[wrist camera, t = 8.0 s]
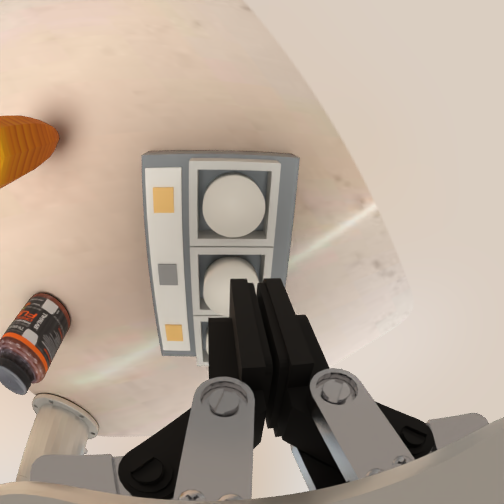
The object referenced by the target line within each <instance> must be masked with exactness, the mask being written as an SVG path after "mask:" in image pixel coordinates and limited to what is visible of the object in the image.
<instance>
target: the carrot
mask: <svg viewBox="0 0 504 504" xmlns="http://www.w3.org/2000/svg"><path fill="white" fill-rule="evenodd" d="M58 141H59V135H58V132H57V131H56V129H55V128H54V127H52V126H51V125H48V124H46V123H44V122H42V121H40V120H37V119H34V118H30V117H25V116H0V188H2V187H4V186H6V185H7V184H9V183H11V182H13V181H14V180H16V179H18V178H20V177H21V176H23V175H25V174H27V173H28V172H30V171H32V170H34V169H35V168H37V167H38V166H39V165H41V164H42V163H43V162H44V161H46V160H47V159H48V158H49V157H50V156H51V155H52V153H53V152H54V150H55V148H56V146H57V143H58Z"/></svg>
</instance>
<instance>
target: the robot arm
mask: <svg viewBox="0 0 504 504" xmlns="http://www.w3.org/2000/svg"><path fill="white" fill-rule="evenodd" d="M208 353H209V380H207V381H205V382H203V383H202V384H201V385H200V386H199V387H198V388H197V390H196V392H195V394H194V398H193V402H192V407H191V408H190V409H189V410H188V411H186V412H185V413H184V414H182V415H181V416H180V417H178V418H177V419H175V420H174V421H173V422H171V423H170V424H168V425H167V426H166V427H164V428H163V429H161V430H160V431H159V432H157V433H156V434H154V435H153V436H151V437H150V438H149V439H147V440H146V441H144V442H143V443H141V444H140V445H138V446H137V447H135V448H134V449H132V450H131V451H129V452H128V453H127V454H126V455H125V456H121V457H112V455H111V454H104V455H84V454H86V453H87V449H86V448H85V446H86V442H87V439H92V438H94V437H96V436H97V434H98V424H97V423H96V421H95V420H94V419H93V418H92V416H91V415H89V414H88V413H87V412H86V411H85V410H83V409H82V408H80V407H79V406H77V405H76V404H74V403H72V402H70V401H68V400H66V399H63V398H61V397H58V396H55V395H51V394H39V395H36V396H35V397H34V399H33V402H32V406H33V409H34V411H35V413H36V414H37V416H36V419H35V421H34V425H33V427H32V430H31V433H30V435H29V438H28V441H27V444H26V447H25V450H24V454H23V457H22V460H21V464H20V467H19V471H18V474H17V478H16V482H9V483H4V484H0V504H504V417H503V418H501V419H499V420H496V421H494V422H492V423H490V424H489V423H488V421H487V420H486V418H484V417H483V416H482V415H480V414H477V413H469V414H464V415H459V416H453V417H446V418H440V419H432V420H428V422H427V423H424V422H422V421H420V420H418V419H416V418H414V417H411V416H409V415H406V414H404V413H401V412H399V411H396V410H394V409H391V408H389V407H387V406H384V405H382V404H380V403H377V402H375V401H374V400H373V399H372V397H371V396H370V394H369V393H368V391H367V390H366V389H365V387H364V386H363V384H362V383H361V381H359V379H358V378H357V377H356V376H355V375H353V374H352V373H350V372H348V371H345V370H342V369H335V368H331V369H329V366H328V364H327V362H326V359H325V357H324V355H323V352H322V350H321V348H320V345H319V343H318V341H317V339H316V336H315V334H314V332H313V329H312V327H311V325H310V323H309V320H308V318H307V317H306V315H295V312H294V310H293V307H292V305H291V302H290V300H289V297H288V295H287V292H286V290H285V287H284V285H283V282H282V280H281V278H264V280H263V283H258V284H257V294H256V292H255V287H254V284H253V283H248V281H247V279H230V303H229V317H218V318H208ZM265 418H266V423H267V427H268V428H274V433H275V437H279V436H282V439H283V440H284V441H286V442H287V443H289V444H291V450H292V453H293V455H294V458H295V460H296V462H297V464H298V466H299V469H300V471H301V473H302V475H303V478H304V480H305V482H306V484H307V486H308V488H309V491H308V492H302V493H296V494H290V495H283V496H276V497H268V498H258V499H251V495H252V468H253V466H252V465H253V449H254V448H255V447H256V446H257V445H258V444H259V443H260V442H261V437H262V431H263V426H264V421H265Z"/></svg>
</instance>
